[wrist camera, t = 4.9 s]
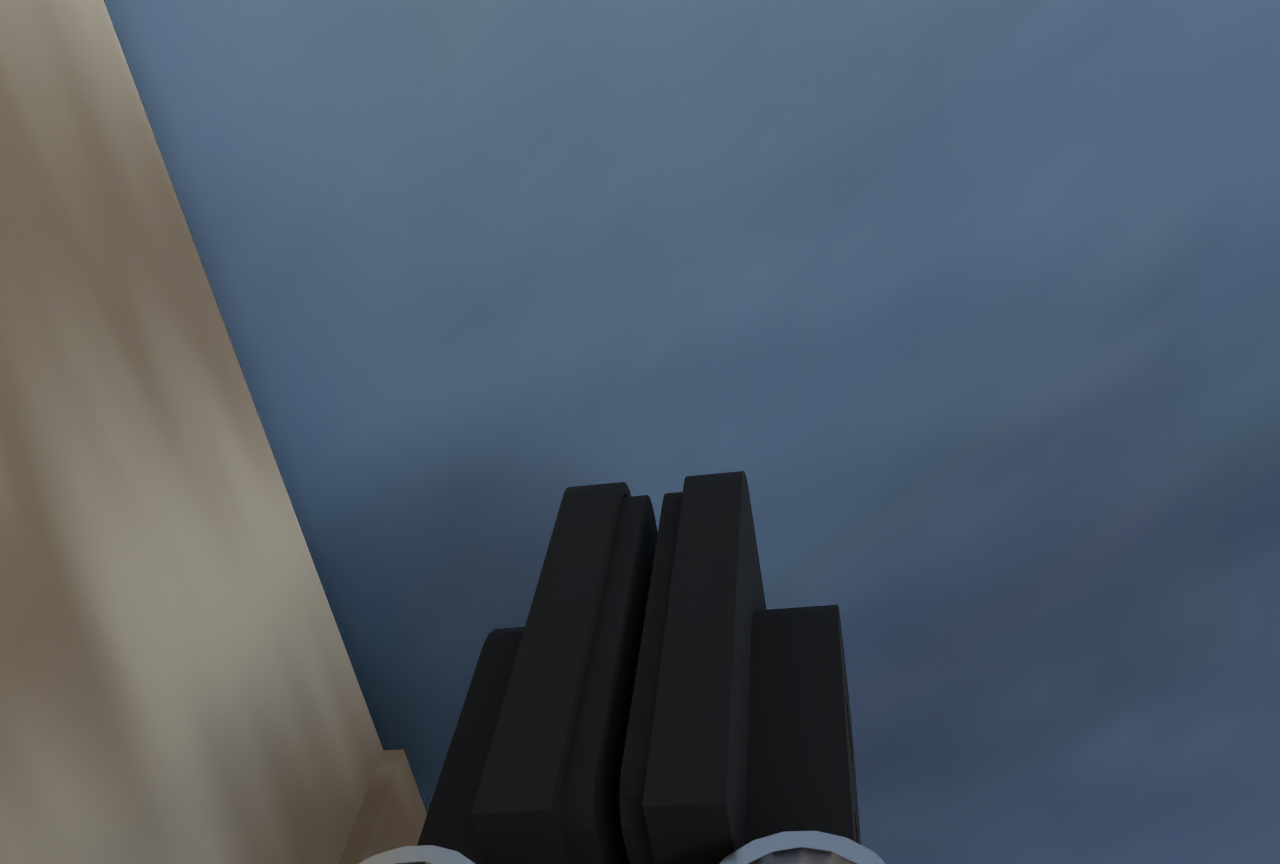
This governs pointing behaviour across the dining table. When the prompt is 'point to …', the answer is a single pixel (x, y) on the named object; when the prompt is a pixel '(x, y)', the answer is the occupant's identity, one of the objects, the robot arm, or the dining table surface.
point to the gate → (149, 520)
